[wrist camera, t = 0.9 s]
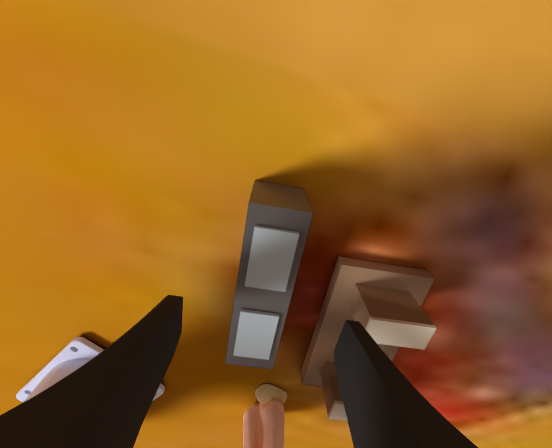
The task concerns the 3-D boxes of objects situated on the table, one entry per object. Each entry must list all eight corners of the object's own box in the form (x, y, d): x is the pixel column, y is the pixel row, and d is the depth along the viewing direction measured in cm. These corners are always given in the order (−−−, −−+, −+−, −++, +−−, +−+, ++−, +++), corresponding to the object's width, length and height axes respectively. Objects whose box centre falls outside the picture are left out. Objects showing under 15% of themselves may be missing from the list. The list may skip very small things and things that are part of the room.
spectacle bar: (272, 318, 19) (272, 372, 15) (234, 313, 19) (224, 366, 15) (303, 187, 15) (313, 215, 11) (255, 179, 15) (248, 204, 11)
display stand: (371, 380, 21) (391, 436, 18) (300, 372, 21) (306, 428, 17) (426, 269, 17) (468, 314, 13) (338, 255, 16) (356, 298, 13)
